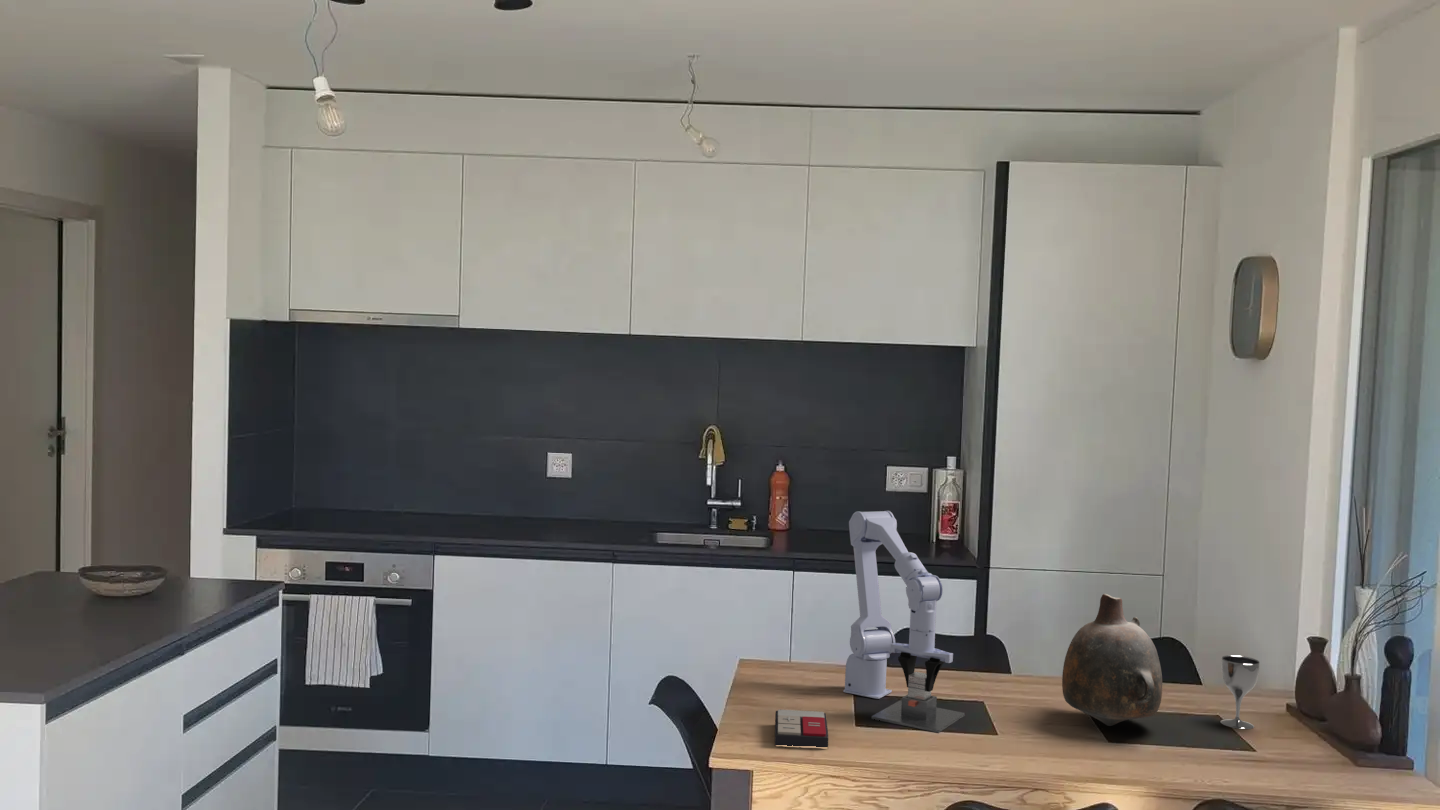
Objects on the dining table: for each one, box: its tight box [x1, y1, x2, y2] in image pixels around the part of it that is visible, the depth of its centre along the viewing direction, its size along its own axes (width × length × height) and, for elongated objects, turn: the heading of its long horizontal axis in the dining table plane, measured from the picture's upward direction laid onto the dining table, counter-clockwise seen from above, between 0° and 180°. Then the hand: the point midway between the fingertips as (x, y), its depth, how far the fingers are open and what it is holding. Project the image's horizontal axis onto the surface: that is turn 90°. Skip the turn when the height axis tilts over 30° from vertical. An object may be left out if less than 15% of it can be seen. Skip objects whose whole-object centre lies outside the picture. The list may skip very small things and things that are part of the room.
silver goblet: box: [1220, 654, 1260, 730], centre depth 277 cm, size 8×8×15 cm
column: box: [907, 671, 932, 701], centre depth 273 cm, size 4×4×8 cm
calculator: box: [774, 709, 829, 748], centre depth 256 cm, size 11×4×15 cm
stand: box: [871, 694, 966, 734], centre depth 273 cm, size 16×16×5 cm
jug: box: [1061, 593, 1163, 727], centre depth 272 cm, size 24×21×30 cm
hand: (919, 688), depth 273 cm, fingers closed on column, 4 cm apart
